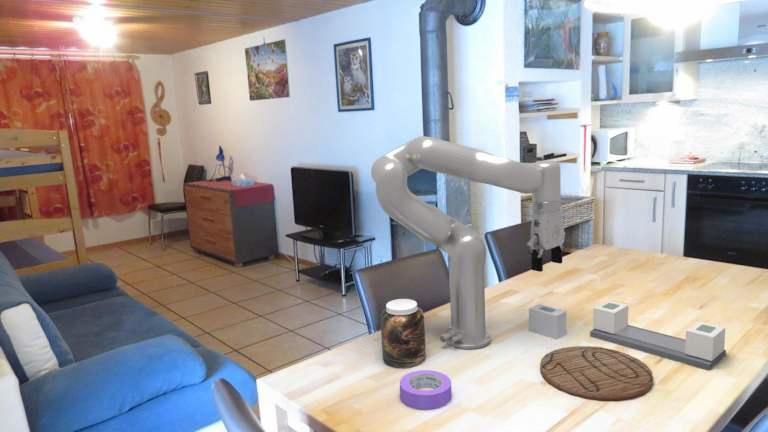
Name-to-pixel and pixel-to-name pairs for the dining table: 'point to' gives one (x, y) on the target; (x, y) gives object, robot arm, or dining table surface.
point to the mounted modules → (699, 337)
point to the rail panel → (656, 345)
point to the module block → (547, 321)
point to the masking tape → (425, 397)
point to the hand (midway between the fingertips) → (547, 266)
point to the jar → (403, 334)
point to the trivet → (596, 373)
